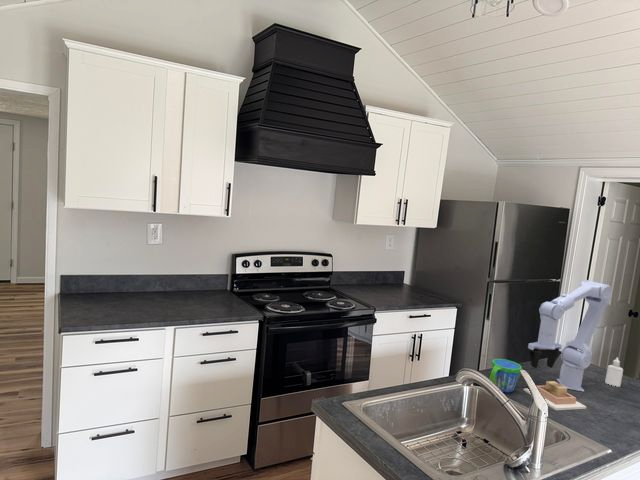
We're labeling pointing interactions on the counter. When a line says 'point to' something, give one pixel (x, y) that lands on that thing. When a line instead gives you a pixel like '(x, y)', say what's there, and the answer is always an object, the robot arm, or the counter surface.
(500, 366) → the snack cup
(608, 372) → the eye dropper bottle
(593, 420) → the counter surface
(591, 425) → the counter surface
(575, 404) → the tray
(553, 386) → the oak key block
